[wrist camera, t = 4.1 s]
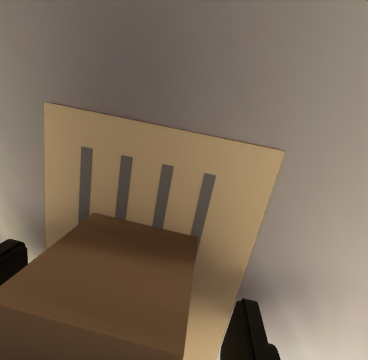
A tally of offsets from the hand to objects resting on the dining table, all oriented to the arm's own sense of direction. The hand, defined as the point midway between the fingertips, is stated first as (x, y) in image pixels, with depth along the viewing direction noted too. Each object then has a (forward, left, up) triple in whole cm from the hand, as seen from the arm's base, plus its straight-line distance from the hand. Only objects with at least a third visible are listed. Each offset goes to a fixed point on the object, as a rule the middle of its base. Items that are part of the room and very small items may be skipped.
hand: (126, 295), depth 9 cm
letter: (0, 0, -2) cm, 2 cm away
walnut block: (0, 0, -2) cm, 2 cm away
